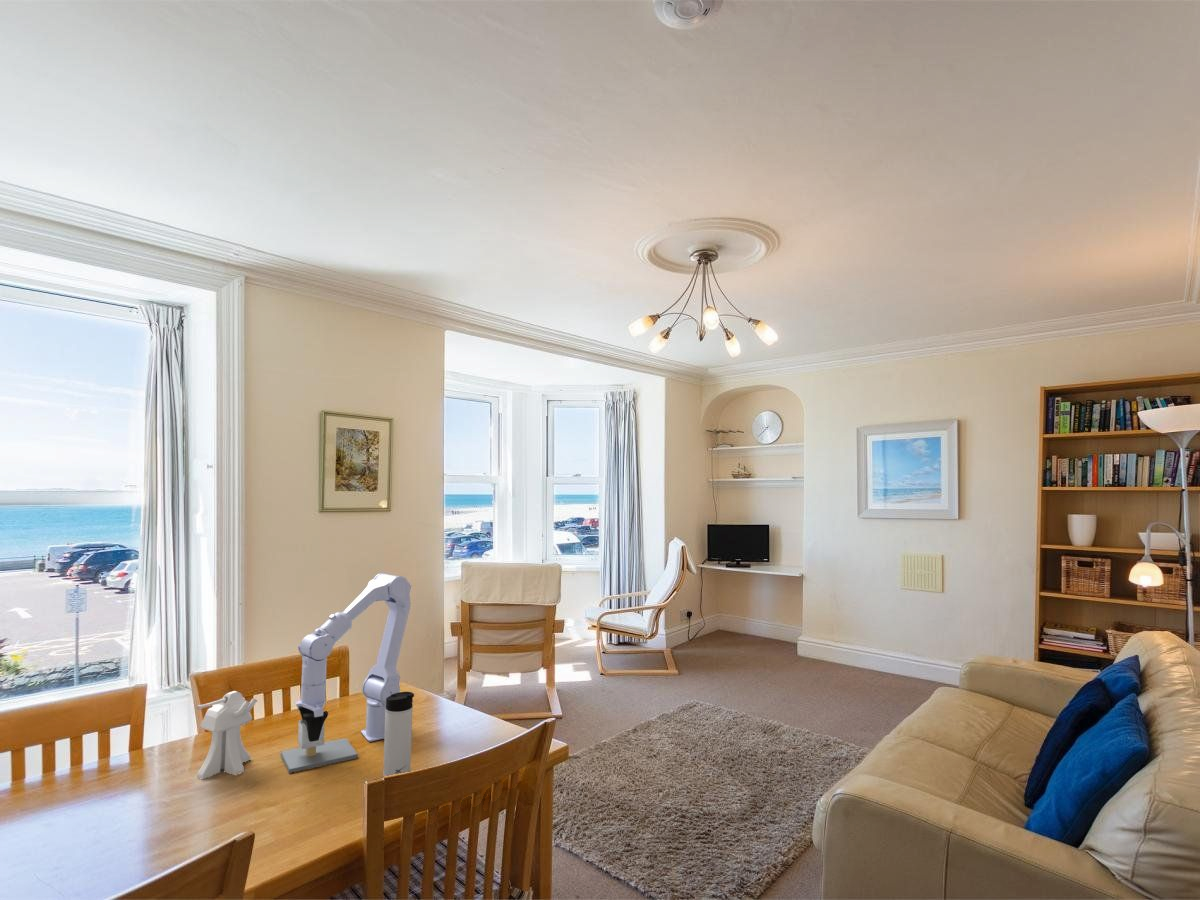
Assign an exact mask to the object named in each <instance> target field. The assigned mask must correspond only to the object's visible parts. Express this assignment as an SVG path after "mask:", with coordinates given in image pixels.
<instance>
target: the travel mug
mask: <svg viewBox="0 0 1200 900" xmlns="http://www.w3.org/2000/svg"><path fill="white" fill-rule="evenodd" d="M414 697H415V693H413V692H412V691H400V692H399V693H395V694H392V695H391V696H389V697H387V698H386V709H385V710H386V711H385V737H384V743H383V766H382V767H383V768H382V769H383V772H382V778H383V777H384V776H389V775H393V774H399V773H405V772H410V773H411V766H412V765H411V763H412V735H413V732H412V731H413V707H414V706H413V698H414Z"/></svg>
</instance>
